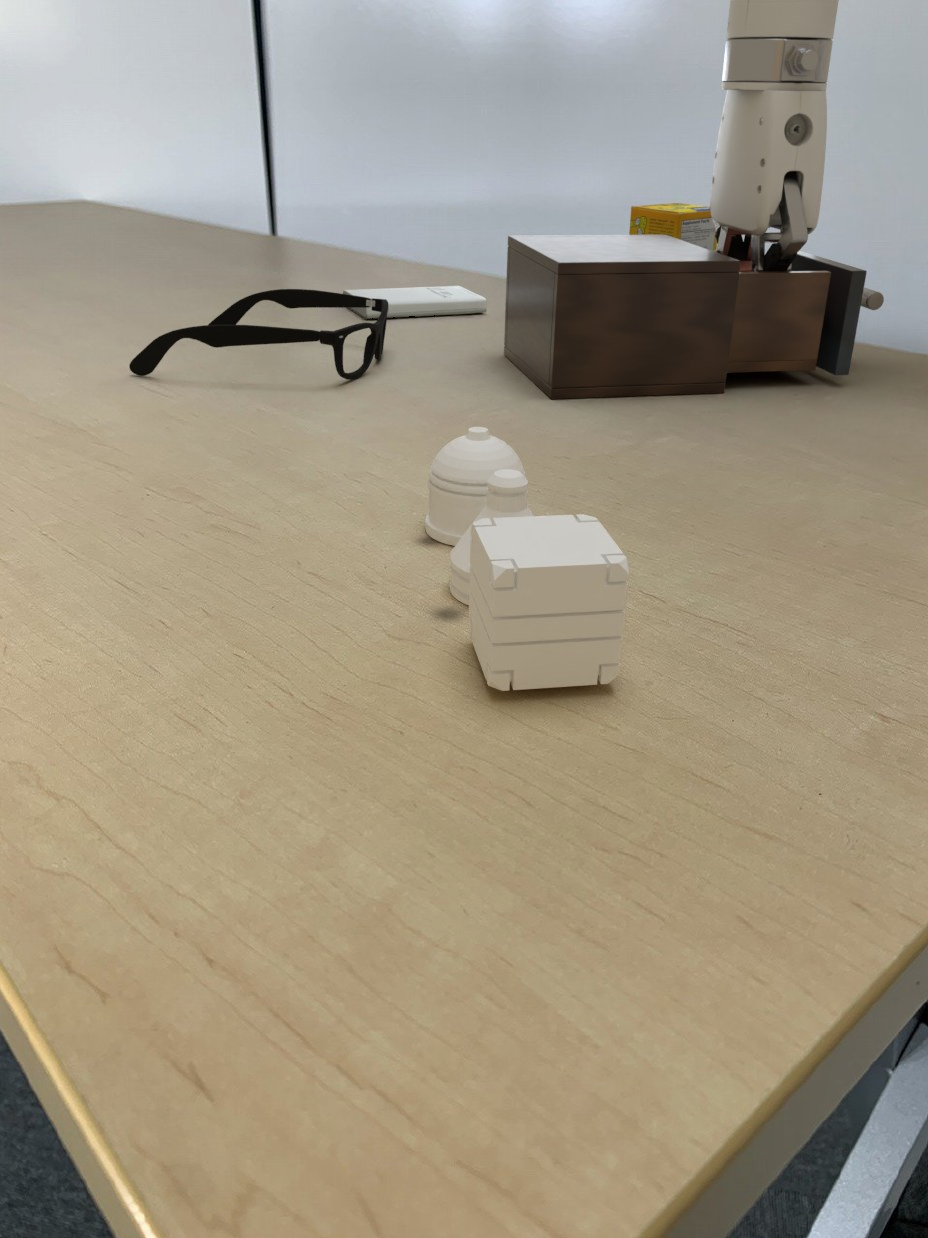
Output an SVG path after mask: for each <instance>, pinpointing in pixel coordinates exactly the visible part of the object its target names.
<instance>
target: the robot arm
mask: <svg viewBox="0 0 928 1238" xmlns="http://www.w3.org/2000/svg"><path fill="white" fill-rule="evenodd" d="M729 1H730V2H729V9H728V17H727V18H728V19H727V28H726V40H725V47H724V56H723V67H722V74H721V75H722V77H721V86H720V90H722V91H723V90H725V91H726V93H725V98H724V103H723V107H722V114H721V117H720V123H719V128H718V129H719V130H718V135H717V141H716V148H715V154H714V161H713V169H712V178H711V186H710V187H711V188H710V201H709V202H710V203H709V207H710V213H711V216H712V222H713V225H714V227H715V230H716V235H715V238H716V240H717V250H716V252H717V253H720V254H723V255H725V256H728V257H731V258H734V259H737V260H740V261H751V272H774V271H791V266H792V262H793V260H794V259H795V257H796V255H797V252H798V251H801V249H803V247H804V246H805V245H806V244H807V242H808V239H809V235H811V234H812V233H813V232H814V231H815V230H816V229H817V226H818V224H819V223H818V222H819V217H820V210H821V202H822V195H823V194H822V193H823V183H824V175H825V164H826V163H825V162H826V152H827V151H826V149H827V132H828V131H827V129H828V104H827V103H828V102H827V87H828V86H827V85H828V83H827V82H828V78H829V72H830V62H831V58H832V57H831V56H832V48H833V39H834V35H835V28H836V21H837V13H838V8H839V7H838V6H839V1H840V0H729ZM770 228H773V229H775V230H780V231H779V232H767V231H768V229H770ZM743 236H744V237H743ZM766 243H768V244H770V243H771V245H770V246H769V248H768V249H767V250H766Z"/></svg>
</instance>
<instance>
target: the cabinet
mask: <svg viewBox="0 0 928 1238" xmlns="http://www.w3.org/2000/svg"><path fill="white" fill-rule="evenodd" d="M740 264H741V261H740V260H737V259H734V258H731V257H728V256H725V255H723V254H720V253H717V252H714V251H711V250H708V249H705V248H703V247H700V246H697V245H694V244H691V243H688V242H685V241H683V240H680V239H677V238H674V237H671V236H668V235H629V234H559V235H558V234H555V235H554V234H550V235H549V234H547V235H545V234H543V235H535V234H534V235H532V234H531V235H529V234H528V235H508V236H507V256H506V285H505V311H504V313H505V314H504V336H503V337H504V338H503V339H504V341H503V345H504V346H503V355H504V356H505V357H506V358H507V359H508V360H509V361H510V362H511V363H513V365H514V366H516V368H518V369H519V370H520V371H521V373H523V374H524V375H525V376H526V377H527V378H528V379H530V381H532V382H533V383H534V385H536V386H537V387H538V388H539V389H540V390H541V391H542V392H543V393H544V394H545V395H546V396H547V397H549V398H550V400H566V399H567V400H568V399H594V398H620V397H622V398H623V397H624V398H625V397H647V396H648V397H649V396H651V397H652V396H677V395H679V396H680V395H704V394H707V395H708V394H725V390H726V382H727V376H728V375H727V374H728V373H727V368H728V360H729V352H730V344H731V336H732V328H733V320H734V312H735V304H736V296H737V288H738V280H739V271H740Z"/></svg>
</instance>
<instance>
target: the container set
mask: <svg viewBox="0 0 928 1238" xmlns="http://www.w3.org/2000/svg"><path fill="white" fill-rule="evenodd" d="M427 484H428V512H427V514H426V515H425V517H424V519H425V520H424V521H425V522H424V523H425V524H424V528H425V533H426V534H427V535H428V536H429V537H430V538H431V539H433V540H434V541H437V542H439V543H442V544H445V545H449V546H453V548H452V550H451V551H450V554H449V592H450V593H451V595H452V597H454V598H455V599H456V600H457V601H459V602H460V603H461V604H464V605H466V606H468V614H469V616H468V630H469V637H470V640H471V644H472V645H473V648H474V651H475V653H476V656H477V659H478V662H479V665H480V668H481V670H482V672H483V675H484V679H485V681H486V683H487V685H488V687H491V688H493V689H496V690H498V691H501V692H505V691H507V692H508V691H510V688H512V690H513V691H522V690H535V689H536V690H537V689H550V688H551V689H553V688H565V687H566V688H567V687H580V686H581V687H582V686H583V687H584V686H597V685H598V682H599V684H600V685H608V684H610V683H611V682H612V681H613V680H615V679H616V678H617V677H618V676H619V675H620V674H621V664H622V659H623V657H622V656H623V648H624V647H623V645H624V638H623V637H624V635H625V625H626V614H627V613H626V612H625V610H627V604H628V593H629V592H628V591H629V584H628V582H629V581H630V570H629V563H628V558H627V556H626V555H625V554H624V552H623V551H622V550H621V548H620V547H619V546H618V544H617V543H616V541H615V540H614V539H613V538H612V536H611V535H610V533H609V532H608V531H607V530H606V528H605V527H604V526H603V524H602V523H601V521H599V518H598V517H596V516H592V515H587V514H584V513H581V514H580V513H579V514H575V516H574V515H573V514H557V515H555V514H554V515H553V514H552V515H534V513H533V512H532V511H531V509H530V508H529V506H528V498H529V495H528V494H529V491H528V489H529V480H528V478H527V477H526V472H525V468H524V465H523V463H522V461H521V459H520V456H519V455H518V454H517V453H516V451H515V450H514V449H513V448H512V446H510V445H509V444H508V443H507V442H505V441H504V440H502V439H501V438H499V437H496V436H494V435H490V432H489V429H488V428H487V427H484V426H472V427H469V428H468V429H467V432H466V434H464V435H461V436H459V437H456V438H454V439H452V440H451V441H449V442H448V443H446V444H445V445H444V446H443V447H442V448H441V449H440V450H439V451H438V452H437V454H436V455H435V458H434V459H433V461H432V463H431V466H430V469H429V471H428V480H427ZM510 686H511V687H510Z"/></svg>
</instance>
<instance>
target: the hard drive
mask: <svg viewBox="0 0 928 1238" xmlns="http://www.w3.org/2000/svg"><path fill="white" fill-rule="evenodd" d="M342 294H347V295H354V296H360V297H366V298H370V299H372V298H374V299H386V300H387V301H388V313H387V319H392V318H393V317H395V318H410V317H409V316H415V317H433V316H434V315H435V316H451V315H452V316H453V315H471V314H483V313H486V312H487V311H488V309H487V307H488V300H487V298H486V297H484V296H482V295H480V294H477V293H476V292H473V291H471V290H469V289H467V288H465V287H463V286H460V285H447V286H445V285H443V286H418V287H417V286H414V287H389V288H387V287H386V288H362V289H360V288H359V289H343V291H342ZM349 310H350V311H352V310H353V311H352V312H354V313H355V312H356V314H357V315H358V314H359V315H358V316H360V317H361V318H363V319H364V320H371V319H372V318H373V319H378V318H379V316H380V314H381V312H378V311H372V306H371V307H368V308H350V309H349ZM435 316H434V317H435ZM373 319H372V320H373Z"/></svg>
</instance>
